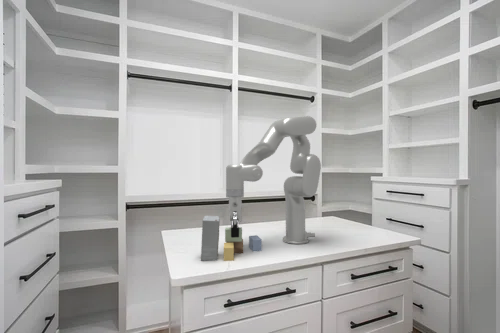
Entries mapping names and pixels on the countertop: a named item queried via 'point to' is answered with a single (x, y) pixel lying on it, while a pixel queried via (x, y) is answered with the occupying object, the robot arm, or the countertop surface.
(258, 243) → the slate brick
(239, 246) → the walnut brick
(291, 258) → the countertop surface
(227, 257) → the ochre brick
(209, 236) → the skincare box
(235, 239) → the sage brick
